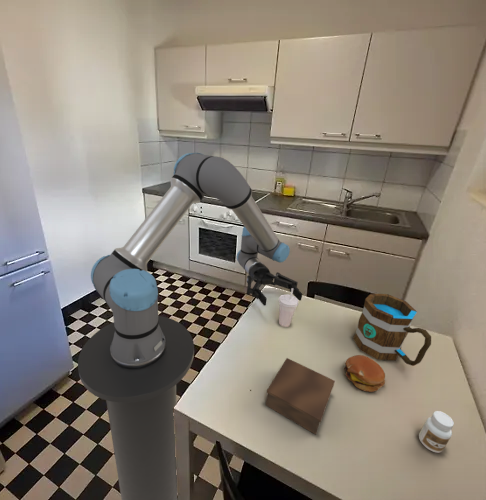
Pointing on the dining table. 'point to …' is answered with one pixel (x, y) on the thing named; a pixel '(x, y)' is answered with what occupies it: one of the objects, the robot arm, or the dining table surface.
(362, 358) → the burger
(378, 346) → the mug
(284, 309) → the smoothie
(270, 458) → the dining table surface
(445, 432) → the pill bottle
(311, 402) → the walnut box
